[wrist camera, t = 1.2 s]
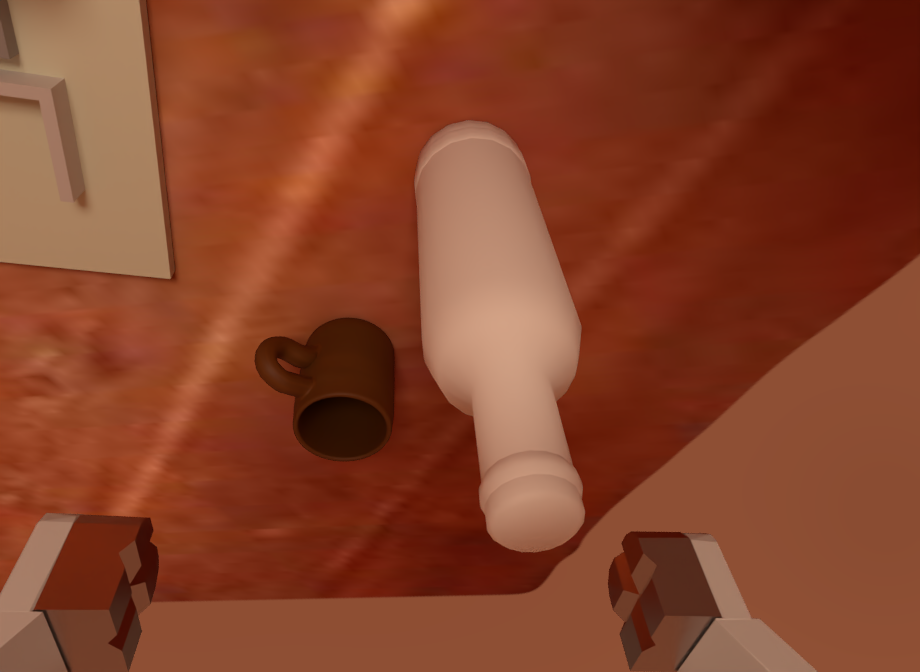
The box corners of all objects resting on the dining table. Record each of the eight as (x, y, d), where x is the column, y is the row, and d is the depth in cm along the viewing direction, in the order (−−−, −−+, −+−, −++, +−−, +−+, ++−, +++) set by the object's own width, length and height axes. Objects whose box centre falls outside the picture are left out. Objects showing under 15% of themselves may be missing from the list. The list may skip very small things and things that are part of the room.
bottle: (429, 232, 50) (453, 602, 26) (400, 134, 45) (398, 481, 22) (532, 207, 49) (652, 565, 26) (515, 105, 44) (642, 431, 21)
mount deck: (-210, -78, 35) (-257, -70, 33) (143, -18, 38) (125, -7, 36) (-88, 243, 47) (-115, 267, 45) (174, 270, 50) (163, 294, 48)
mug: (243, 321, 54) (218, 401, 46) (303, 265, 51) (286, 341, 44) (353, 395, 60) (347, 476, 52) (413, 348, 57) (414, 428, 49)
